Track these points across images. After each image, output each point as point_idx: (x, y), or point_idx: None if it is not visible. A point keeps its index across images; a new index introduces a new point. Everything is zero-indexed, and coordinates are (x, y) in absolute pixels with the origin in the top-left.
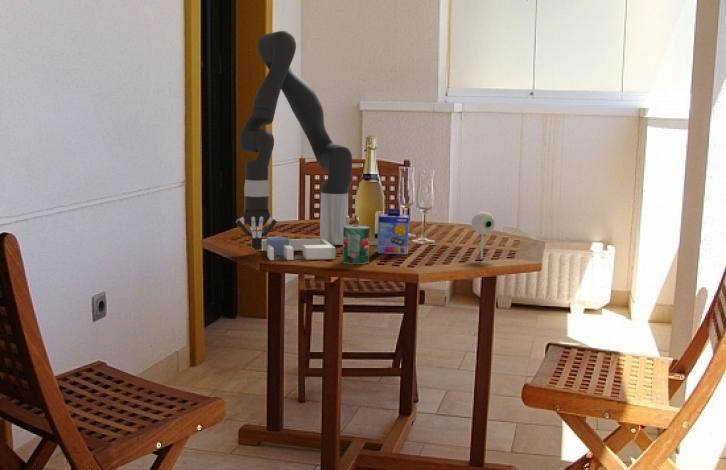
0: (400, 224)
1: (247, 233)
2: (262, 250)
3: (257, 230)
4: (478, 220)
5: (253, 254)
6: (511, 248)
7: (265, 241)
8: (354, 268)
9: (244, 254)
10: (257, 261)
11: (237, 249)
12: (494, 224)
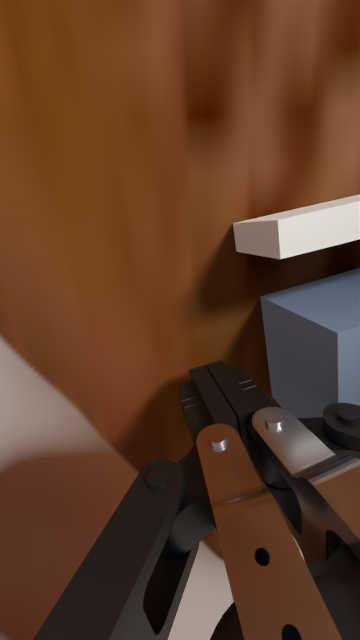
0: None
1: (169, 556)
2: (237, 250)
3: (294, 483)
4: None
5: (182, 382)
6: None
7: (297, 252)
8: None
9: (127, 393)
10: (212, 534)
11: (27, 189)
12: None
